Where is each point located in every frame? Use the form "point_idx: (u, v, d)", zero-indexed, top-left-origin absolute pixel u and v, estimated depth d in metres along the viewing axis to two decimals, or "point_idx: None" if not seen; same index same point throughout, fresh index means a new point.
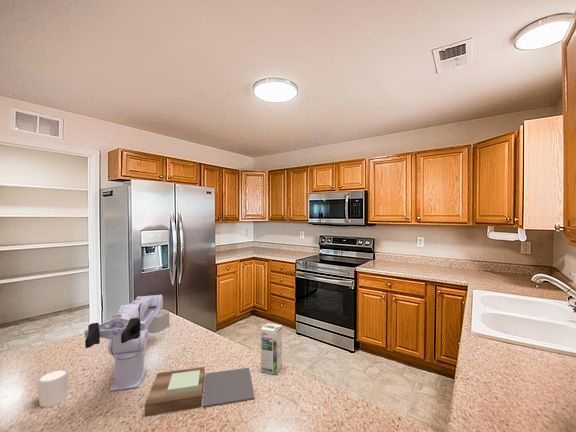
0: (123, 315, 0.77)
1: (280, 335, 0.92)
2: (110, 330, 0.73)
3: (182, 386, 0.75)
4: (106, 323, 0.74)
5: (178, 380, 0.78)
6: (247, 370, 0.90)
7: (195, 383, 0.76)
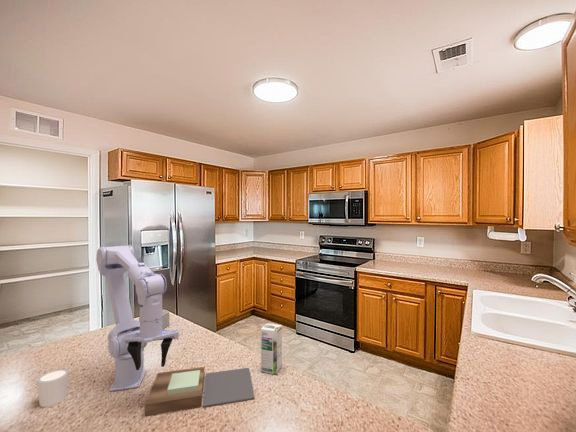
0: (152, 330, 0.74)
1: (280, 335, 0.92)
2: None
3: (182, 386, 0.75)
4: None
5: (178, 380, 0.78)
6: (247, 370, 0.90)
7: (195, 383, 0.76)
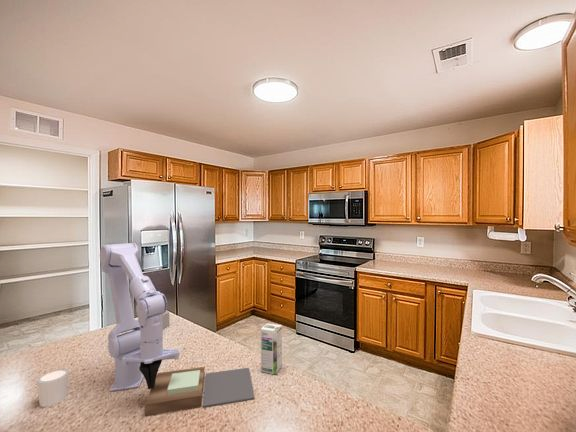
0: (152, 350, 0.74)
1: (280, 335, 0.92)
2: None
3: (182, 386, 0.75)
4: None
5: (178, 380, 0.78)
6: (247, 370, 0.90)
7: (195, 383, 0.76)
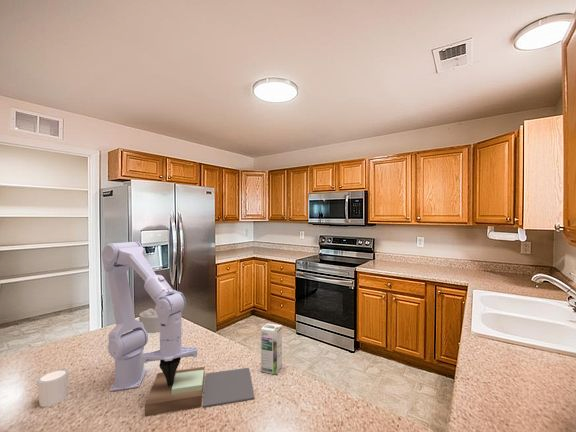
0: (172, 348, 0.75)
1: (280, 335, 0.92)
2: None
3: (186, 386, 0.75)
4: None
5: (182, 380, 0.78)
6: (247, 370, 0.90)
7: (199, 383, 0.76)
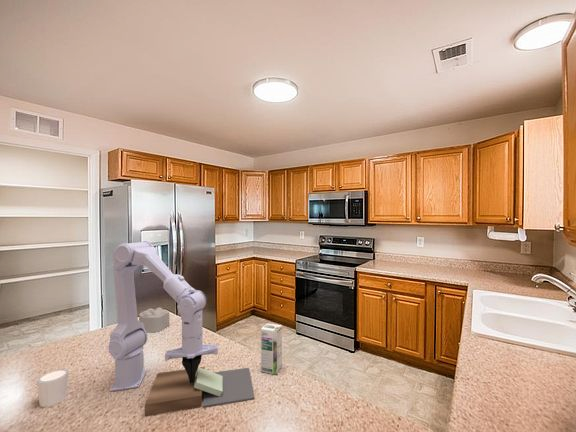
0: (194, 346, 0.77)
1: (280, 335, 0.92)
2: None
3: (208, 385, 0.76)
4: None
5: (204, 377, 0.79)
6: (247, 370, 0.90)
7: (220, 388, 0.78)
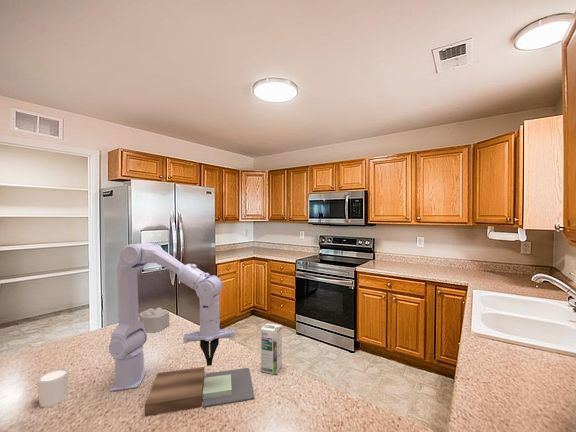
0: (212, 329, 0.78)
1: (280, 335, 0.92)
2: (205, 339, 0.80)
3: (216, 390, 0.77)
4: None
5: (211, 384, 0.80)
6: (247, 370, 0.90)
7: (229, 387, 0.78)
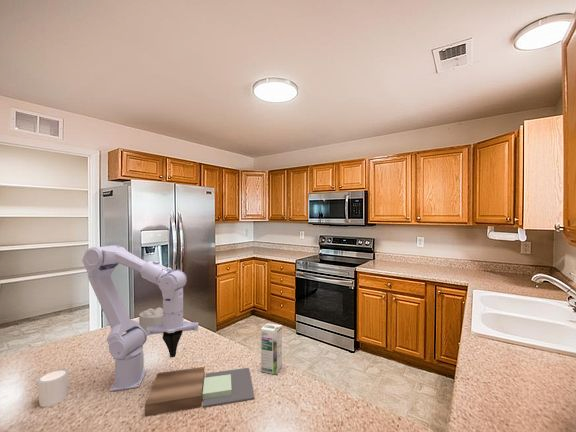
0: (174, 321, 0.80)
1: (280, 335, 0.92)
2: None
3: (216, 390, 0.77)
4: None
5: (211, 384, 0.80)
6: (247, 370, 0.90)
7: (229, 387, 0.78)
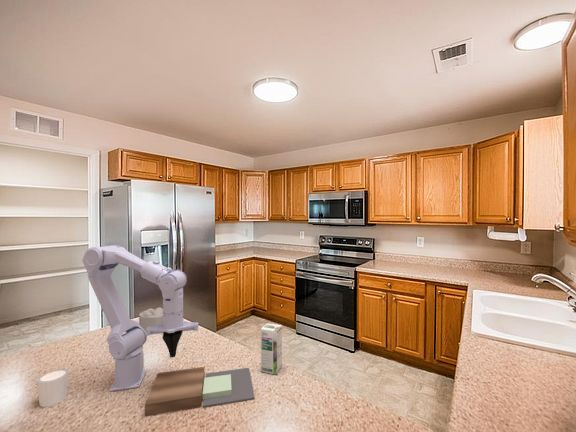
0: (174, 321, 0.80)
1: (280, 335, 0.92)
2: None
3: (216, 390, 0.77)
4: None
5: (211, 384, 0.80)
6: (247, 370, 0.90)
7: (229, 387, 0.78)
